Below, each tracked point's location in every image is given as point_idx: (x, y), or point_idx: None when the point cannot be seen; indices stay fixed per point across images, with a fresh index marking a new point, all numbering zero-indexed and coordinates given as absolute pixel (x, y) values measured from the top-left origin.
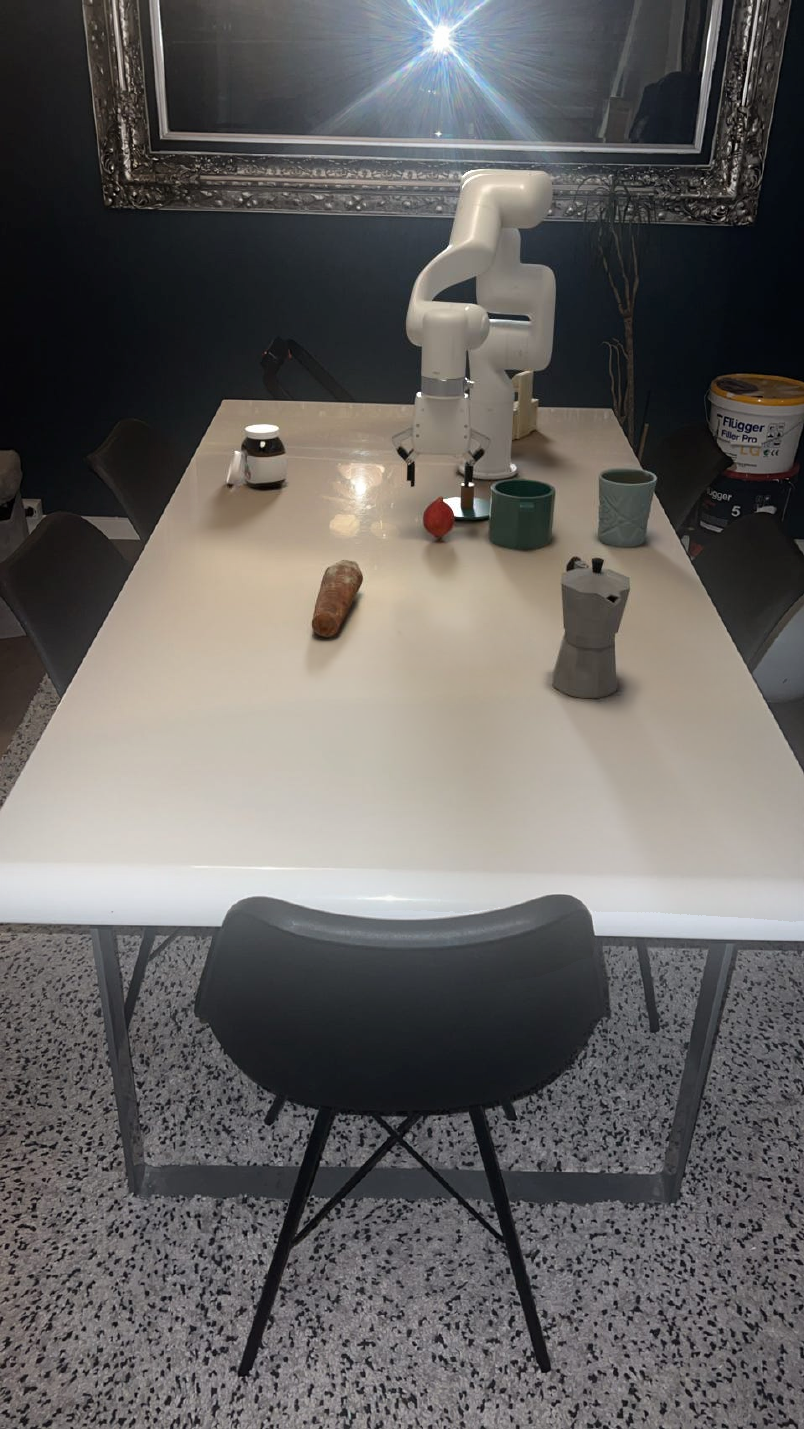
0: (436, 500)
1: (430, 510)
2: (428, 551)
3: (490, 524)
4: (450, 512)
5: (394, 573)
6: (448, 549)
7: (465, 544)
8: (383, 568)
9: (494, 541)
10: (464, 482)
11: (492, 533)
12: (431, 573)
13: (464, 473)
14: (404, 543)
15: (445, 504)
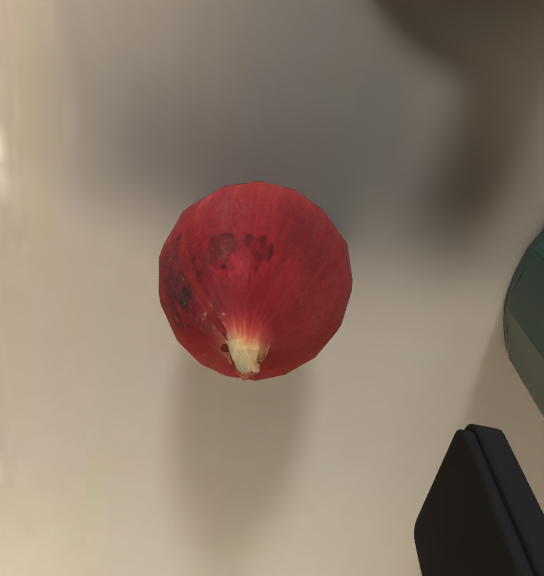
0: (217, 348)
1: (183, 346)
2: (195, 370)
3: (533, 351)
4: (310, 359)
5: (61, 513)
6: None
7: (373, 324)
8: (23, 476)
9: (509, 350)
10: (438, 507)
11: (519, 351)
12: (180, 532)
13: (484, 512)
14: (99, 270)
15: (281, 358)
